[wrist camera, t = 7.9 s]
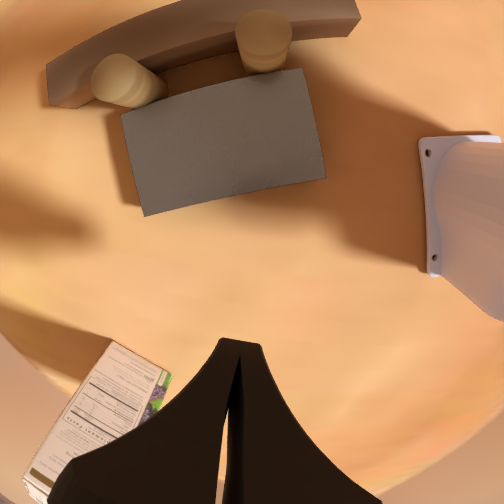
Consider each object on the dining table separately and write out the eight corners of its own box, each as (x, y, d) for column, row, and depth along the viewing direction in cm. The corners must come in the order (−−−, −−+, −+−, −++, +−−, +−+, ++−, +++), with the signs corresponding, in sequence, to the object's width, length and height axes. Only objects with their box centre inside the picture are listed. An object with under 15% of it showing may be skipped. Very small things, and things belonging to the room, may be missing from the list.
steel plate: (317, 174, 17) (326, 178, 15) (158, 208, 18) (144, 216, 16) (297, 79, 15) (302, 67, 13) (138, 118, 16) (120, 115, 14)
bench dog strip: (357, 70, 14) (389, 45, 10) (81, 140, 16) (33, 142, 11) (333, -1, 13) (353, -40, 8) (71, 72, 14) (26, 59, 10)
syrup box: (152, 406, 23) (104, 539, 10) (96, 375, 23) (25, 496, 9) (174, 372, 22) (119, 535, 8) (110, 336, 21) (17, 478, 7)
